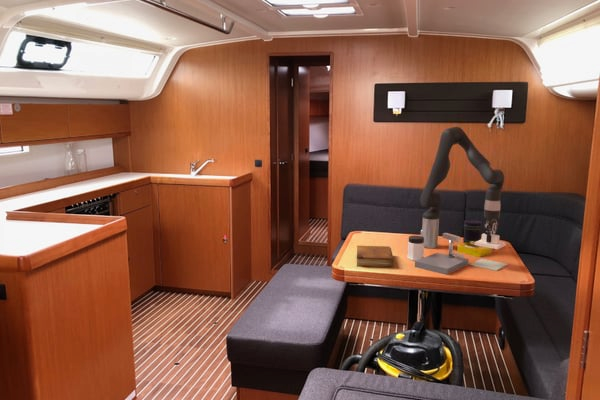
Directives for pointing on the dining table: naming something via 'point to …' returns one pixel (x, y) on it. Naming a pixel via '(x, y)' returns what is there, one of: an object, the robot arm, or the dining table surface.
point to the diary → (375, 256)
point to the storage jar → (472, 230)
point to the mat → (488, 264)
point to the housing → (441, 263)
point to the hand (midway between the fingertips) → (490, 241)
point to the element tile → (473, 249)
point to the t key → (451, 239)
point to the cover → (492, 244)
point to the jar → (415, 248)
